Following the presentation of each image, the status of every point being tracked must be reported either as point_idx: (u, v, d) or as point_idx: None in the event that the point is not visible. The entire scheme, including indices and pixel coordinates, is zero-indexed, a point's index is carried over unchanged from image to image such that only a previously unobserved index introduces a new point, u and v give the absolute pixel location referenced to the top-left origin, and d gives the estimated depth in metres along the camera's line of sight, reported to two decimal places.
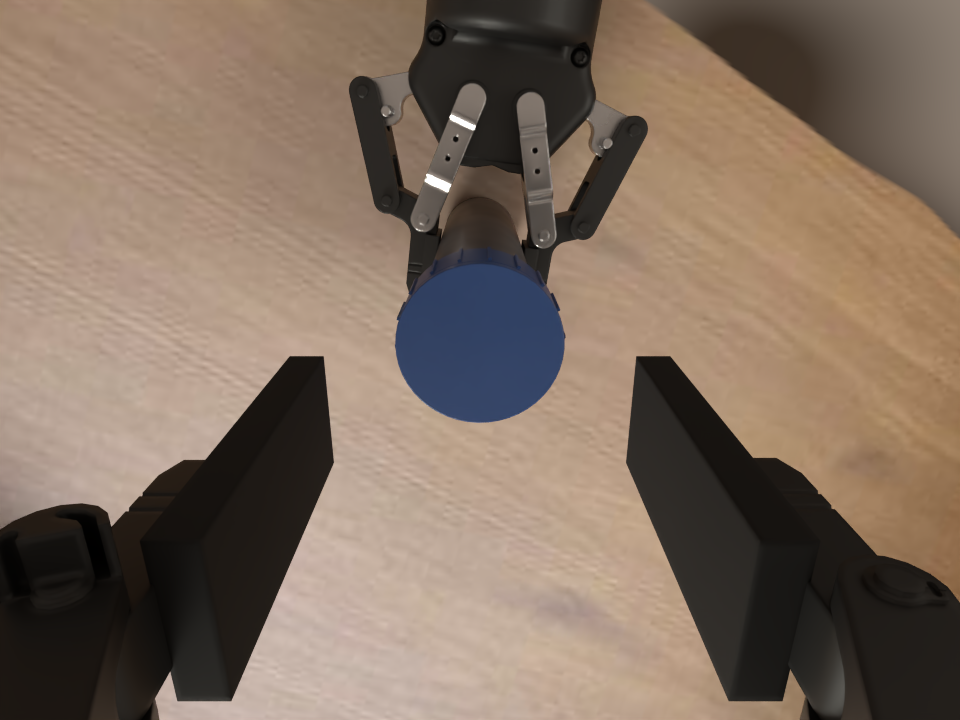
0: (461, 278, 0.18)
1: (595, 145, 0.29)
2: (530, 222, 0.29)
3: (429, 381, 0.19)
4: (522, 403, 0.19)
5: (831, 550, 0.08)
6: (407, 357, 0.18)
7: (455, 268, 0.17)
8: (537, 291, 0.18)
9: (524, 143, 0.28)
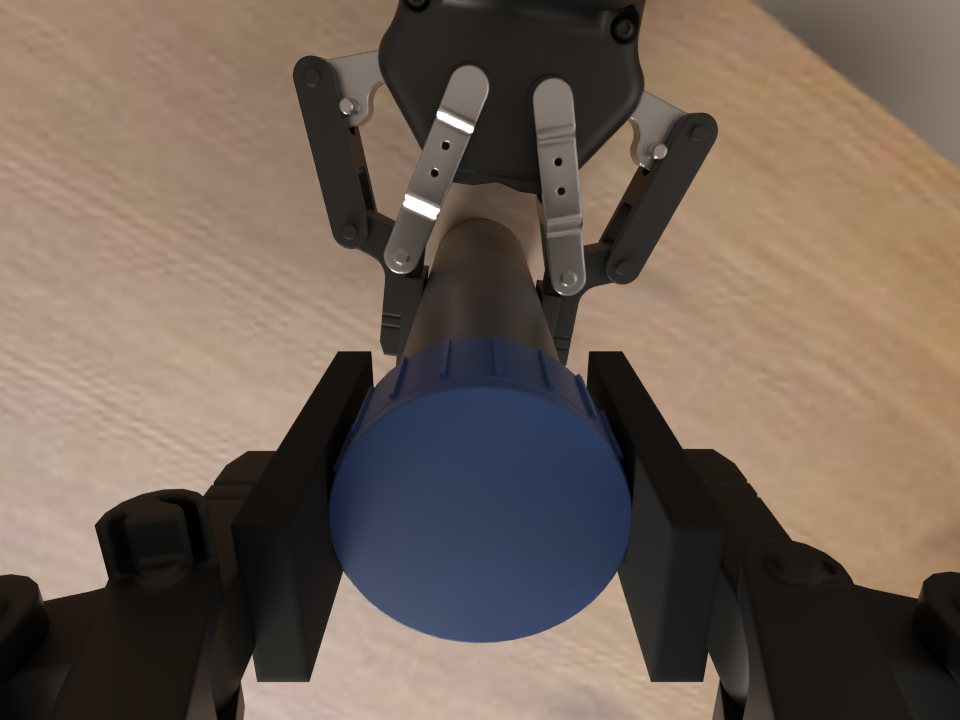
0: (445, 412, 0.09)
1: (641, 154, 0.21)
2: (550, 261, 0.21)
3: (390, 580, 0.11)
4: (554, 614, 0.11)
5: (748, 536, 0.09)
6: (350, 543, 0.10)
7: (434, 395, 0.09)
8: (587, 435, 0.10)
9: (543, 152, 0.19)
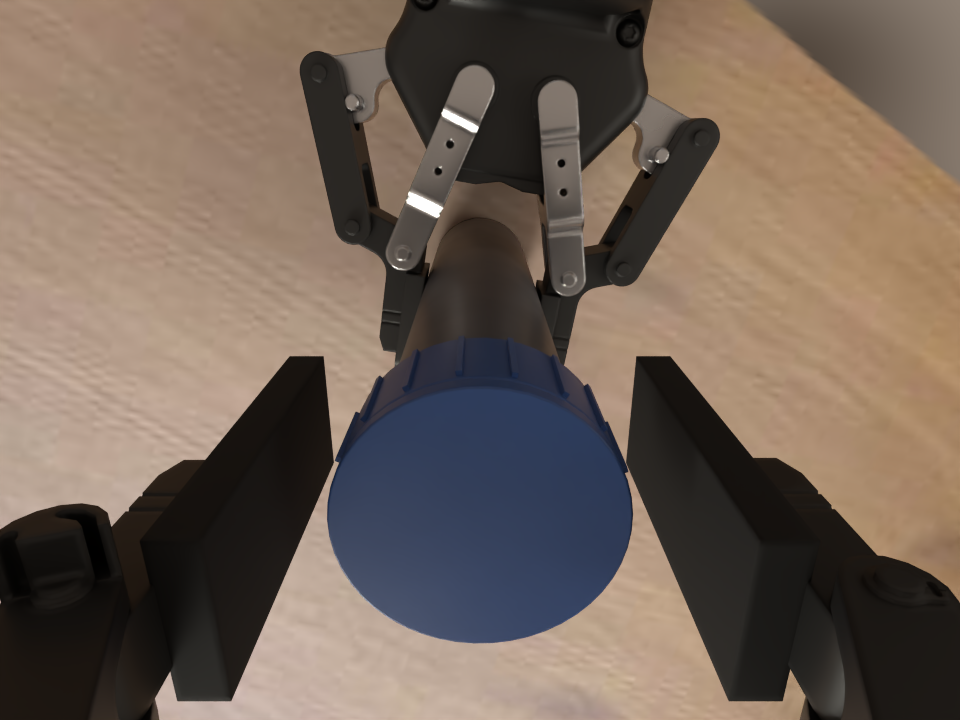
0: (348, 523, 0.10)
1: (643, 157, 0.21)
2: (550, 261, 0.21)
3: (516, 612, 0.11)
4: (612, 488, 0.10)
5: (831, 550, 0.08)
6: (463, 629, 0.11)
7: (330, 527, 0.10)
8: (402, 414, 0.09)
9: (546, 153, 0.20)
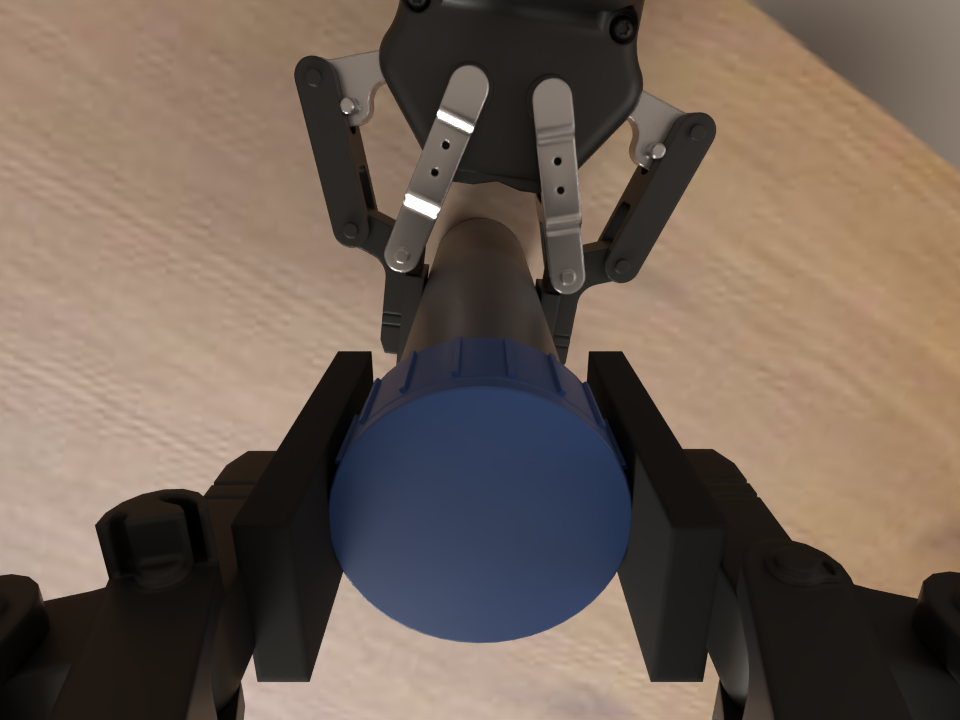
0: (349, 526, 0.10)
1: (640, 153, 0.21)
2: (549, 259, 0.21)
3: (519, 611, 0.11)
4: (611, 485, 0.10)
5: (748, 535, 0.09)
6: (466, 629, 0.11)
7: (330, 530, 0.10)
8: (399, 416, 0.09)
9: (542, 151, 0.19)
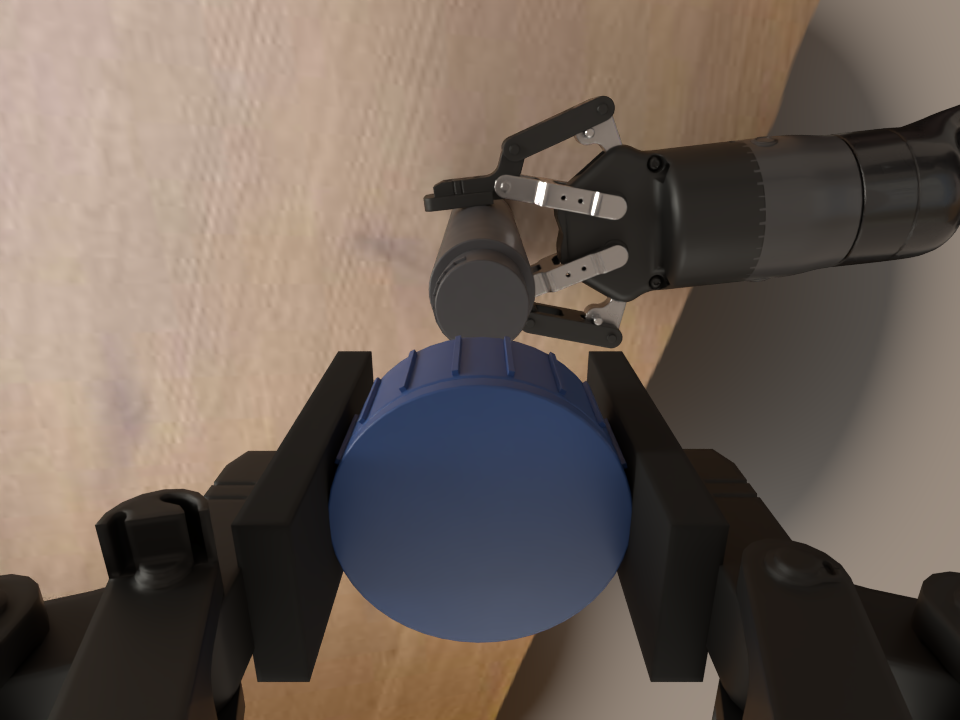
0: (349, 525, 0.10)
1: (592, 311, 0.35)
2: None
3: (519, 610, 0.11)
4: (612, 484, 0.10)
5: (748, 536, 0.09)
6: (466, 629, 0.11)
7: (331, 529, 0.10)
8: (399, 415, 0.09)
9: (587, 258, 0.33)
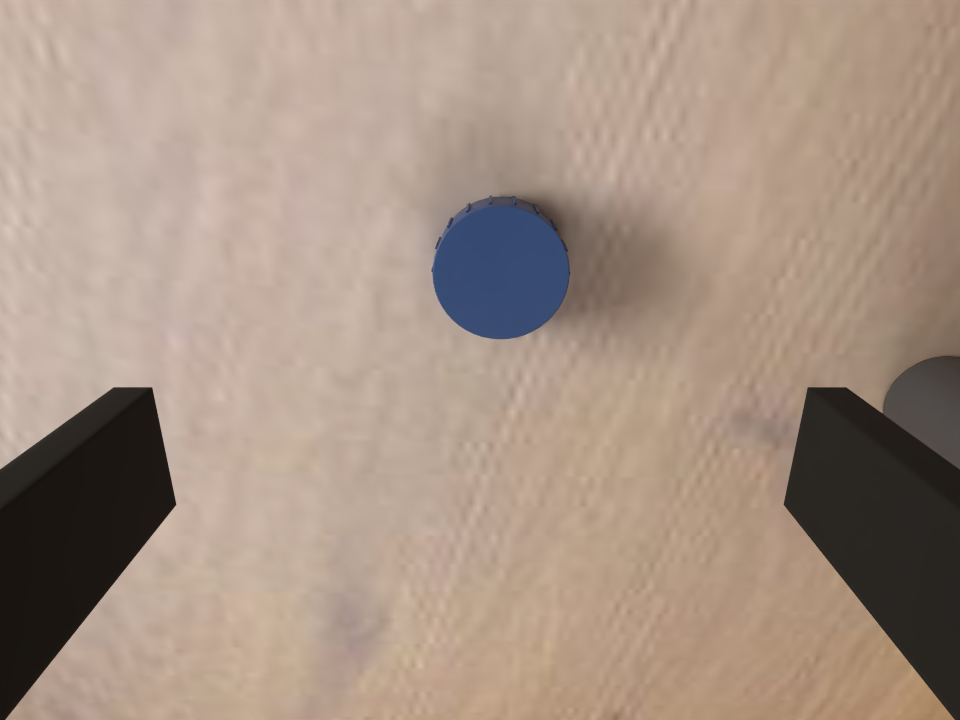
0: (442, 274, 0.23)
1: None
2: None
3: (518, 321, 0.23)
4: (559, 254, 0.22)
5: None
6: (494, 331, 0.24)
7: (433, 276, 0.23)
8: (466, 219, 0.22)
9: None
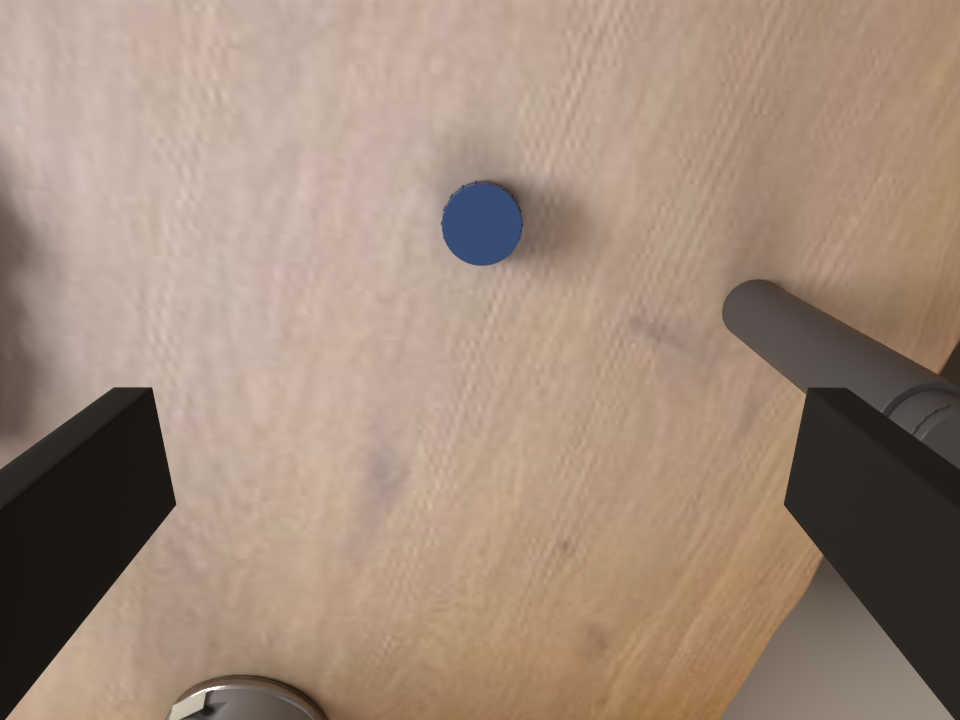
0: (447, 225, 0.39)
1: None
2: None
3: (492, 254, 0.39)
4: (515, 212, 0.38)
5: None
6: (478, 260, 0.39)
7: (442, 227, 0.39)
8: (461, 192, 0.38)
9: None
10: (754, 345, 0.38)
